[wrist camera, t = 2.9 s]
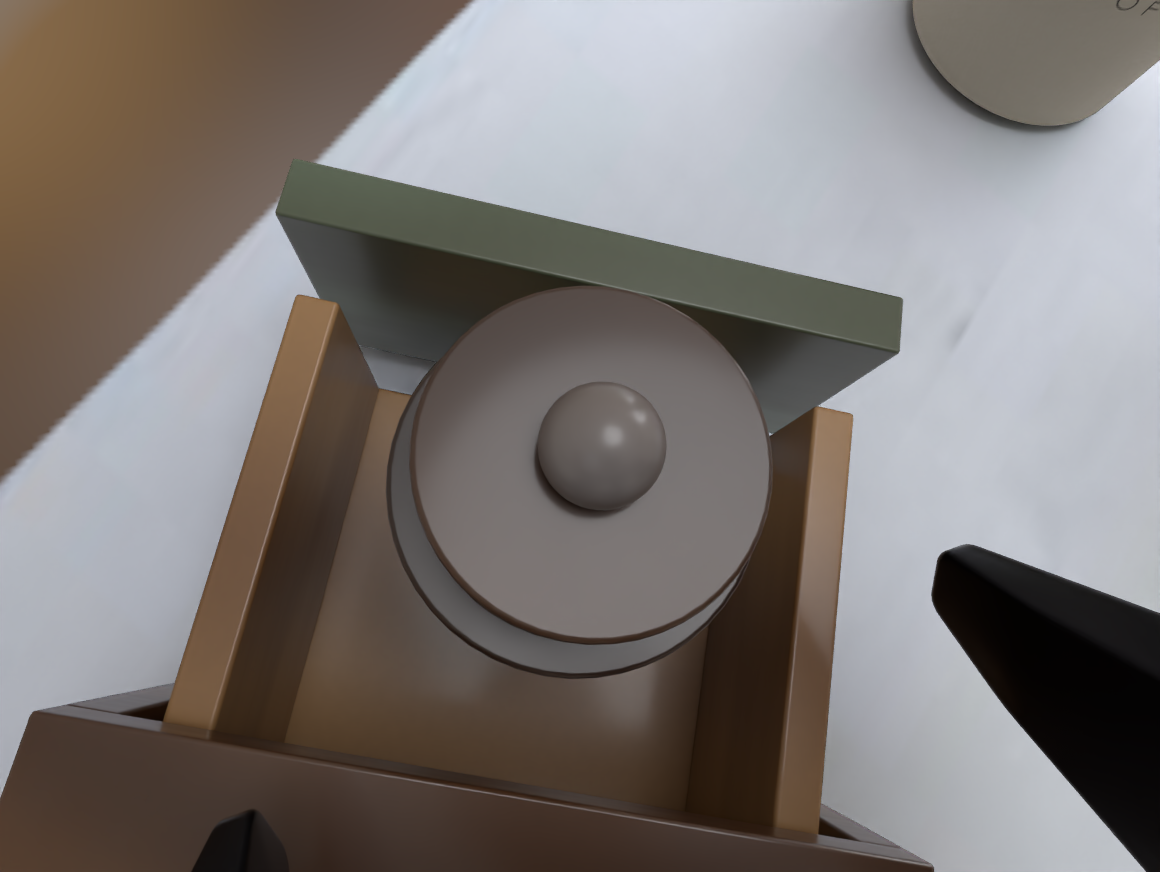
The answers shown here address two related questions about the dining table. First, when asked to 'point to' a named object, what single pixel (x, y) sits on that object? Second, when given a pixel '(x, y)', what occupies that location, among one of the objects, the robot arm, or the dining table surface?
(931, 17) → the travel mug
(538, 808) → the cabinet
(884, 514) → the dining table surface
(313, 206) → the drawer
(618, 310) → the lidded jar
